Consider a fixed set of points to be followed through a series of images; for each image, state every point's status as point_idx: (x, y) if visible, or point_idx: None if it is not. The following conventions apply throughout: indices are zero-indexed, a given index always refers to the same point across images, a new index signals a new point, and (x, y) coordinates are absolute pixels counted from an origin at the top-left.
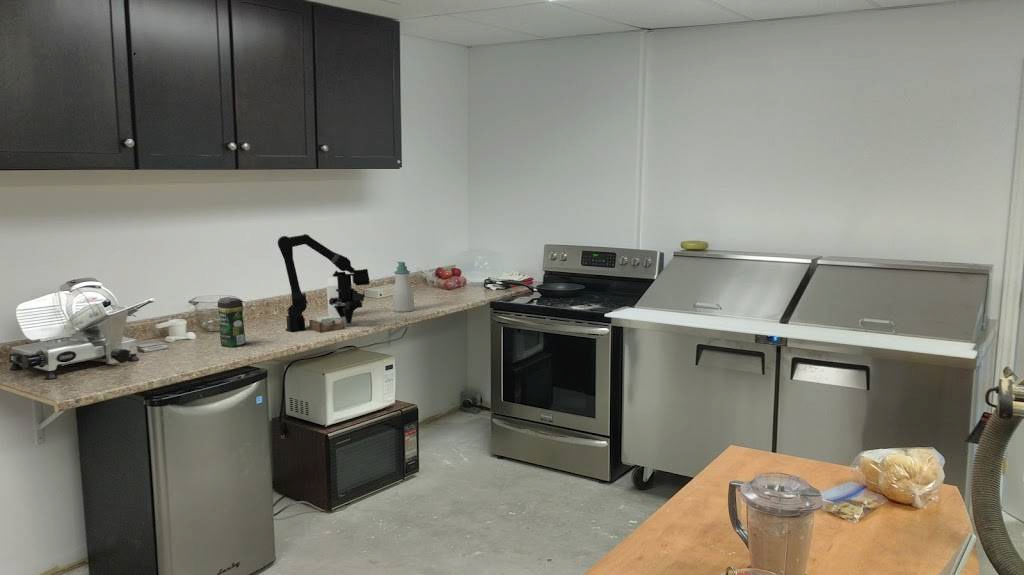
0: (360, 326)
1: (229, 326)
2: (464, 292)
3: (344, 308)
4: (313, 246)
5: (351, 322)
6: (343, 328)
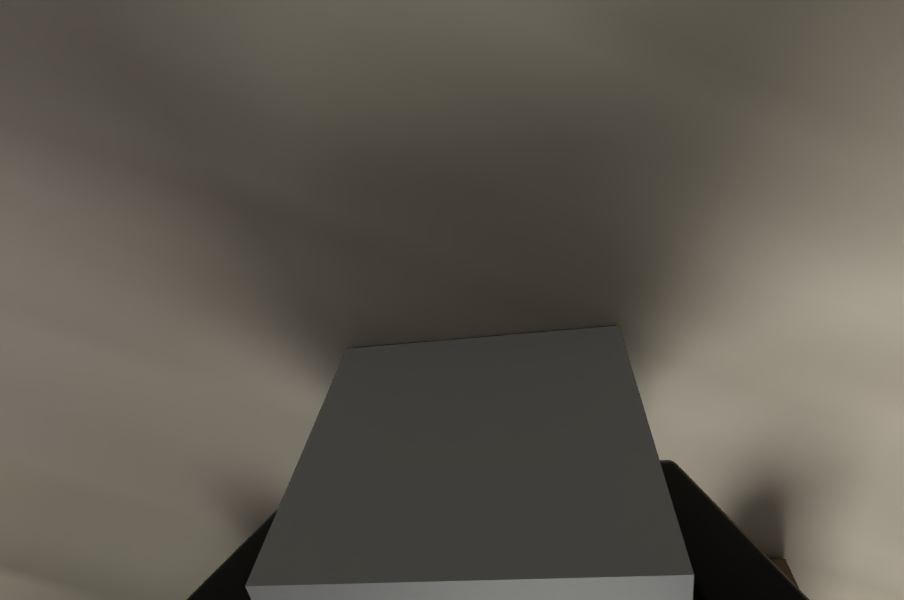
0: (854, 126)
1: None
2: None
3: None
4: None
5: (640, 419)
6: None
